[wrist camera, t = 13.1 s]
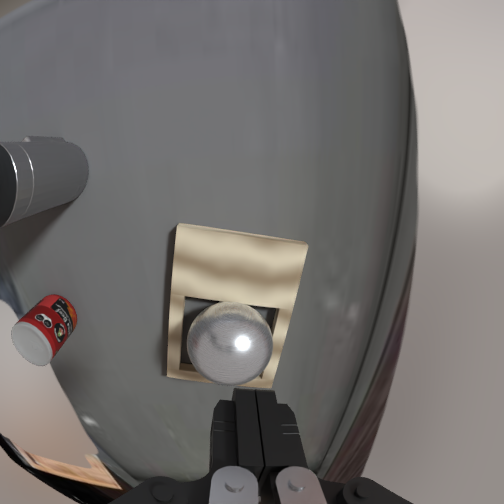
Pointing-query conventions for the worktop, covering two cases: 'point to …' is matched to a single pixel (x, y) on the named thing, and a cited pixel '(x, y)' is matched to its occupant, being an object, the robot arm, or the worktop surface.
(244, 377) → the ball
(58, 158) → the robot arm
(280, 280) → the hole board
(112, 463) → the worktop surface
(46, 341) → the canned food
